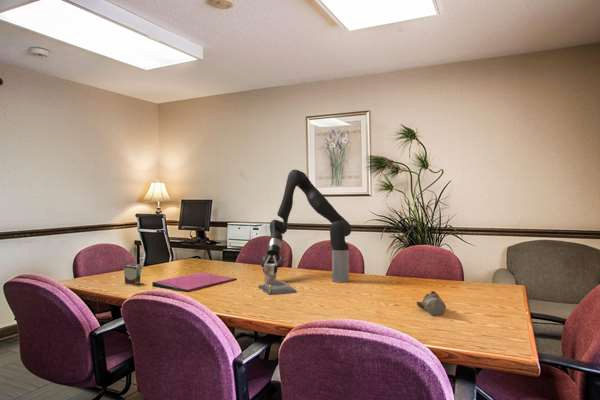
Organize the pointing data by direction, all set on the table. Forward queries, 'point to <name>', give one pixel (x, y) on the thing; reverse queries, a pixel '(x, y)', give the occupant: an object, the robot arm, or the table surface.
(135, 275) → the food container
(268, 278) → the birch block
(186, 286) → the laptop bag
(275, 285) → the fixture plate
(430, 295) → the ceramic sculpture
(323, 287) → the table surface
